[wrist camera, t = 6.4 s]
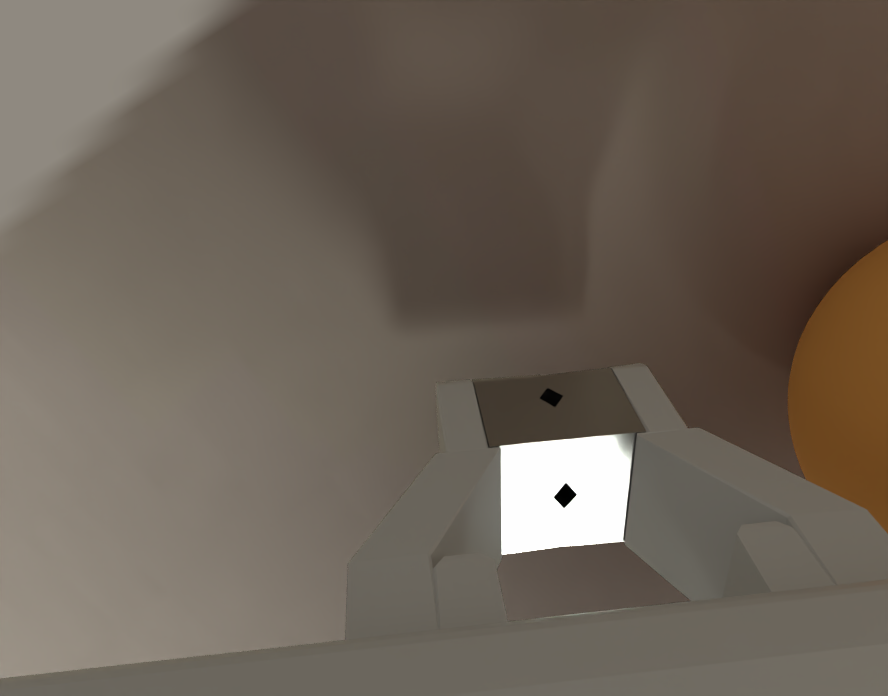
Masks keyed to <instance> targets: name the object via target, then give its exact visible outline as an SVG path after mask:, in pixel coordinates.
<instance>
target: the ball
mask: <svg viewBox="0 0 888 696" xmlns="http://www.w3.org/2000/svg"><path fill="white" fill-rule="evenodd" d="M788 419H789V426H790V432H791V437H792V441H793V445H794V450H795V453H796V456H797V459H798V462H799V464H800V467H801V469H802V472H803V474H804V476H805V478H806V480H807V481H809V482H811V483H814V484H816V485H818V486H820V487H822V488H824V489H826V490H828V491H830V492H832V493H834V494H836V495H838V496H840V497H842V498H844V499H846V500H848V501H850V502H852V503H855V504H857V505H859V506H861V507H863V508H865V509H867V510H868V512H869V513H870V514H871V515H872V516H873V517H874V518H875V520H876V521H877V522H878V523H879V524H880V525H881V527H882V528H883V529H884V530H885V531H886V532H887V534H888V240H887V241H886V242H884V243H882V244H881V245H879V246H878V247H877V248H875V249H874V250H873V251H871V252H870V253H869V254H867V255H866V256H864V257H863V258H862V259H860V260H859V261H858V262H857V263H856V264H855V265H853V266H852V267H851V268H850V269H849V270H848V271H847V272H846V273H845V274H844V275H843V276H842V277H841V278H840V279H839V280H838V281H837V282H836V283H835V284H834V285H833V286H832V287H831V289H830V290H829V291H828V293H827V294H826V295H825V297H824V298H823V299H822V301H821V302H820V303H819V305H818V306H817V308H816V309H815V311H814V313H813V314H812V316H811V318H810V319H809V321H808V322H807V324H806V327H805V329H804V331H803V333H802V335H801V337H800V339H799V342H798V345H797V349H796V352H795V355H794V358H793V363H792V367H791V373H790V378H789V384H788Z"/></svg>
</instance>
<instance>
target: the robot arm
mask: <svg viewBox="0 0 888 696" xmlns="http://www.w3.org/2000/svg"><path fill="white" fill-rule="evenodd" d="M435 392H436V408H437V424H438V440H439V453H436V454H435V455H434V456H433V457H432V459H431V460H430V461H429V462H428V464H427V465H426V466H425V468H424V469H423V470H422V471H421V473H420V474H419V475H418V476H417V478H416V479H415V480H414V481H413V483H412V484H411V485H410V486H409V488H408V489H407V490H406V491H405V493H404V494H403V495H402V496H401V498H400V499H399V500H398V501H397V503H396V504H395V505H394V506H393V508H392V509H391V510H390V511H389V513H388V514H387V515H386V516H385V518H384V519H383V520H382V521H381V523H380V524H379V525H378V526H377V528H376V529H375V530H374V531H373V533H372V534H371V535H370V536H369V538H368V539H367V540H366V541H365V543H364V544H363V545H362V546H361V548H360V549H359V550H358V551H357V553H356V554H355V555H354V556H353V558H352V559H351V560H350V561H349V563H348V573H347V601H346V630H345V640H341V641H332V642H323V643H314V644H305V645H297V646H288V647H279V648H270V649H261V650H252V651H242V652H233V653H224V654H214V655H205V656H196V657H187V658H178V659H169V660H161V661H152V662H143V663H134V664H125V665H116V666H107V667H98V668H89V669H81V670H72V671H63V672H54V673H45V674H36V675H27V676H18V677H9V678H1V679H0V696H888V534H887V532H886V531H885V530H884V529H883V528H882V527H881V525H880V524H879V523H878V522H877V521H876V520H875V518H874V517H873V516H872V515H871V514H870V513H869V512H868V510H867V509H865V508H863V507H861V506H859V505H857V504H855V503H852V502H850V501H848V500H846V499H844V498H842V497H840V496H838V495H836V494H834V493H832V492H830V491H828V490H826V489H824V488H822V487H820V486H818V485H816V484H814V483H811V482H809V481H807V480H805V479H803V478H801V477H799V476H797V475H795V474H793V473H791V472H789V471H787V470H785V469H783V468H781V467H779V466H777V465H775V464H772V463H770V462H768V461H766V460H764V459H762V458H760V457H758V456H756V455H754V454H752V453H750V452H748V451H746V450H744V449H742V448H740V447H738V446H736V445H734V444H731V443H729V442H727V441H725V440H723V439H721V438H719V437H717V436H715V435H713V434H711V433H709V432H707V431H705V430H703V429H701V428H688V427H687V426H686V424H685V423H684V421H683V420H682V418H681V417H680V415H679V414H678V412H677V411H676V409H675V408H674V406H673V405H672V403H671V402H670V400H669V398H668V397H667V395H666V394H665V392H664V391H663V389H662V388H661V386H660V385H659V383H658V382H657V380H656V379H655V377H654V376H653V374H652V373H651V371H650V370H649V368H648V367H647V366H646V365H644V364H642V363H637V364H629V365H622V366H614V367H607V368H601V369H592V370H584V371H575V372H566V373H557V374H548V375H540V374H539V375H525V376H511V377H498V378H484V379H472V380H470V379H467V380H457V381H447V382H438V383H436V391H435ZM613 542H625V543H624V545H626V546H627V547H628V548H629V549H630V550H632V551H633V552H634V553H635V554H636V555H637V556H639V557H640V558H641V559H642V560H643V561H645V562H646V563H647V564H648V565H649V566H650V567H652V568H653V569H654V570H655V571H656V572H657V573H659V574H660V575H661V576H662V577H663V578H665V579H666V580H667V581H668V582H669V583H670V584H672V585H673V586H674V587H675V588H676V589H677V590H679V591H680V592H681V593H682V594H683V595H685V596H686V597H687V598H688V599H689V600H690V601H687V602H678V603H669V604H660V605H651V606H642V607H633V608H623V609H614V610H605V611H596V612H587V613H578V614H569V615H561V616H552V617H543V618H534V619H525V620H517V621H508V619H507V615H506V610H505V605H504V601H503V596H502V592H501V587H500V583H499V578H498V573H497V568H498V566H499V564H500V562H501V560H502V555H503V554H510V553H518V552H525V551H533V550H540V549H547V548H555V547H562V546H575V545H588V544H600V543H613Z"/></svg>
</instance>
